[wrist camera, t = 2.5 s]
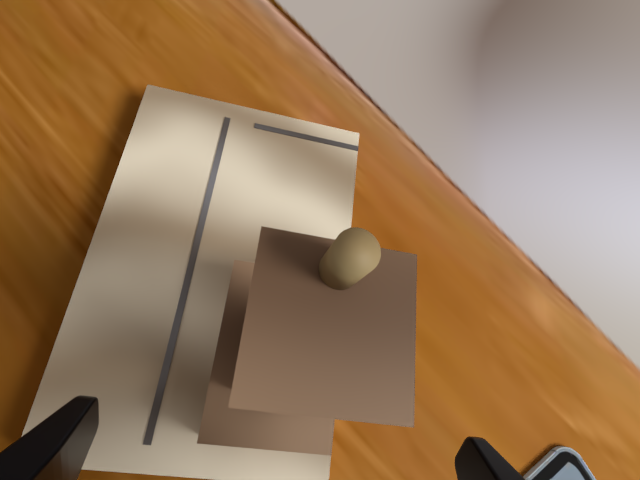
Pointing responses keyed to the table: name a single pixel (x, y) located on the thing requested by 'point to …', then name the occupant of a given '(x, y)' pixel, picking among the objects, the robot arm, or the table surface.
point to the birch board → (187, 277)
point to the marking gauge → (313, 343)
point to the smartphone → (560, 466)
